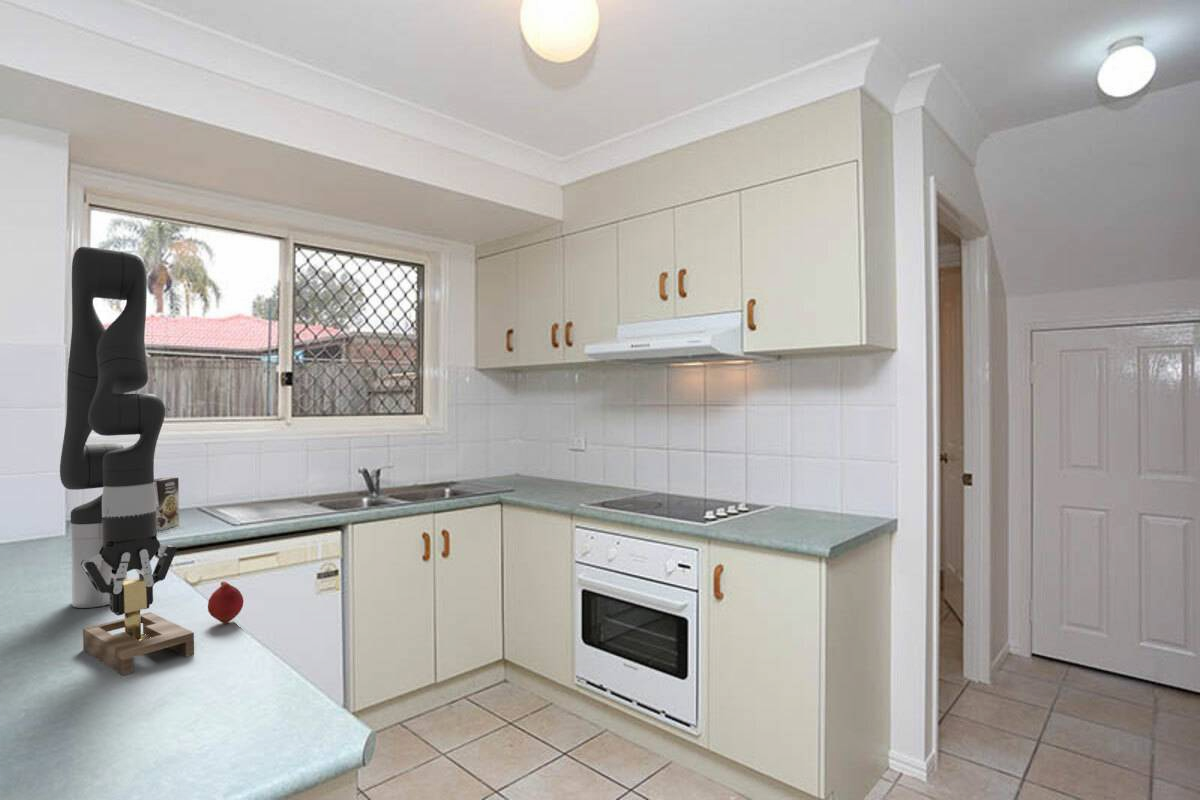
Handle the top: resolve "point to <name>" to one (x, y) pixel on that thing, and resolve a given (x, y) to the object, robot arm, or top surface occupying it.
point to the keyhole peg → (134, 606)
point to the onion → (225, 603)
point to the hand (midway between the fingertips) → (131, 610)
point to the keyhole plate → (135, 641)
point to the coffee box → (167, 502)
